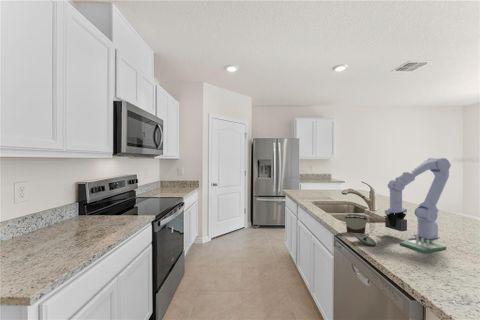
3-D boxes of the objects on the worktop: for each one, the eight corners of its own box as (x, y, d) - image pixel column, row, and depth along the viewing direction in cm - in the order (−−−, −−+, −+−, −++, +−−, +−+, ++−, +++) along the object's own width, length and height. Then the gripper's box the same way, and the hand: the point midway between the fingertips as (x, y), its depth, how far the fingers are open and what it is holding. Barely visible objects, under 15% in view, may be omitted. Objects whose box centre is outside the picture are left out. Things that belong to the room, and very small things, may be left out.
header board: (420, 241, 129) (420, 233, 129) (446, 249, 117) (446, 240, 117) (399, 244, 124) (399, 236, 123) (424, 253, 112) (424, 243, 112)
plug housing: (386, 225, 144) (386, 214, 144) (406, 230, 132) (407, 219, 132) (381, 225, 142) (381, 215, 142) (401, 231, 131) (401, 220, 131)
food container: (365, 231, 146) (365, 214, 146) (367, 234, 140) (367, 216, 140) (342, 229, 149) (342, 213, 149) (344, 232, 143) (344, 215, 143)
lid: (357, 238, 133) (357, 229, 133) (378, 242, 126) (378, 232, 126) (352, 243, 124) (352, 234, 124) (374, 248, 118) (374, 238, 118)
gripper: (398, 199, 142) (398, 223, 142) (379, 201, 137) (379, 225, 138) (410, 201, 136) (410, 226, 136) (391, 203, 131) (391, 228, 131)
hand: (395, 226), depth 136 cm, fingers closed on plug housing, 4 cm apart
